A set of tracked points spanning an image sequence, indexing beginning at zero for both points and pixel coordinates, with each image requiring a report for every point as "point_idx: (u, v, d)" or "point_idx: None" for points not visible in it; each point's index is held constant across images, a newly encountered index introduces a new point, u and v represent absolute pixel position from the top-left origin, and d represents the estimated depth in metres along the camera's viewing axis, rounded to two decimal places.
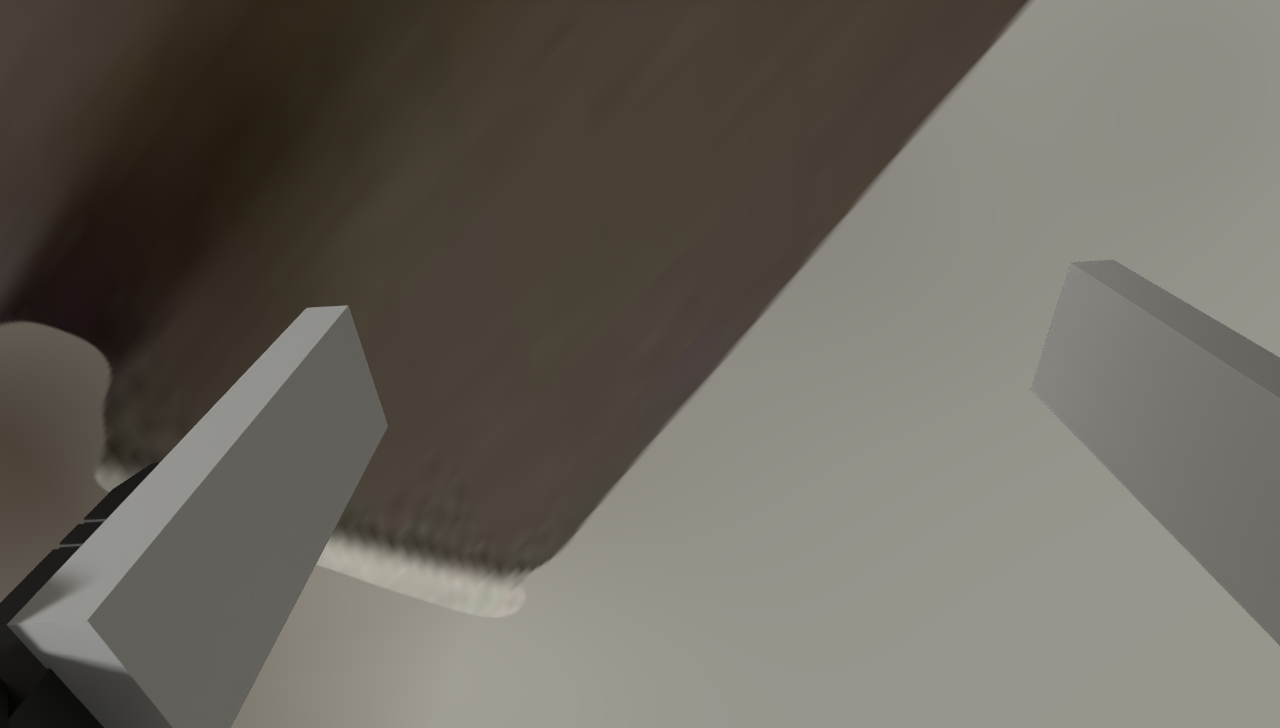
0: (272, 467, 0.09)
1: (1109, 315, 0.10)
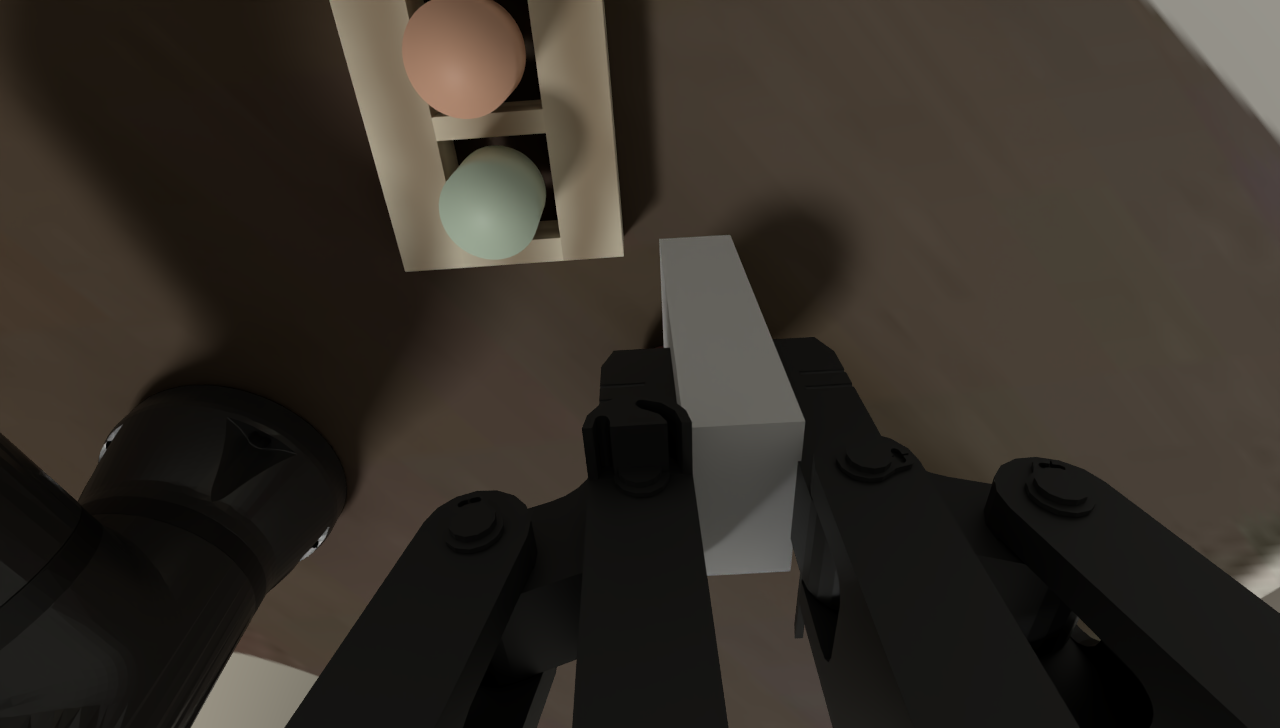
0: None
1: None
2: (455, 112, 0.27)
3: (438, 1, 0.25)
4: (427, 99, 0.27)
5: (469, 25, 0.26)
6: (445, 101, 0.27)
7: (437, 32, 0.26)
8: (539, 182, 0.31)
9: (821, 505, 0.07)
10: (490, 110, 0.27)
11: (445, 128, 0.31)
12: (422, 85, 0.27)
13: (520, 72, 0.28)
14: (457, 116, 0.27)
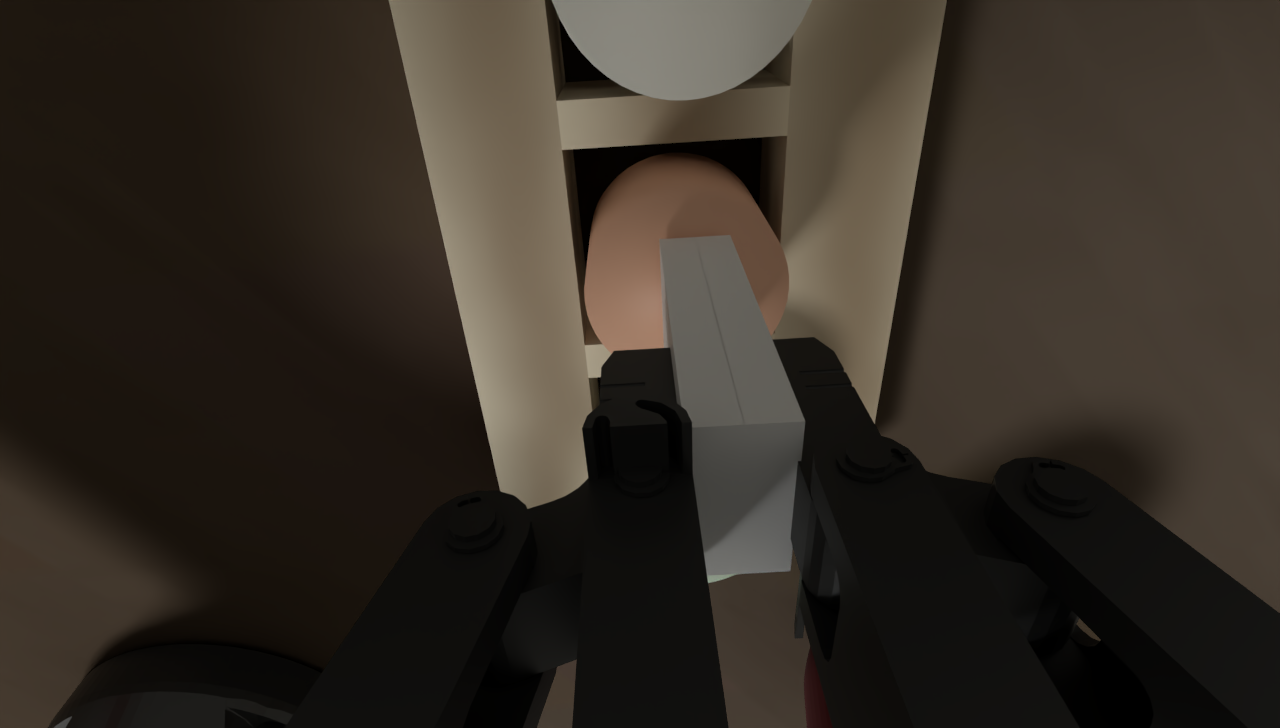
0: None
1: None
2: None
3: (667, 201, 0.13)
4: None
5: None
6: None
7: (655, 250, 0.14)
8: None
9: (821, 505, 0.07)
10: None
11: None
12: (612, 331, 0.15)
13: None
14: None
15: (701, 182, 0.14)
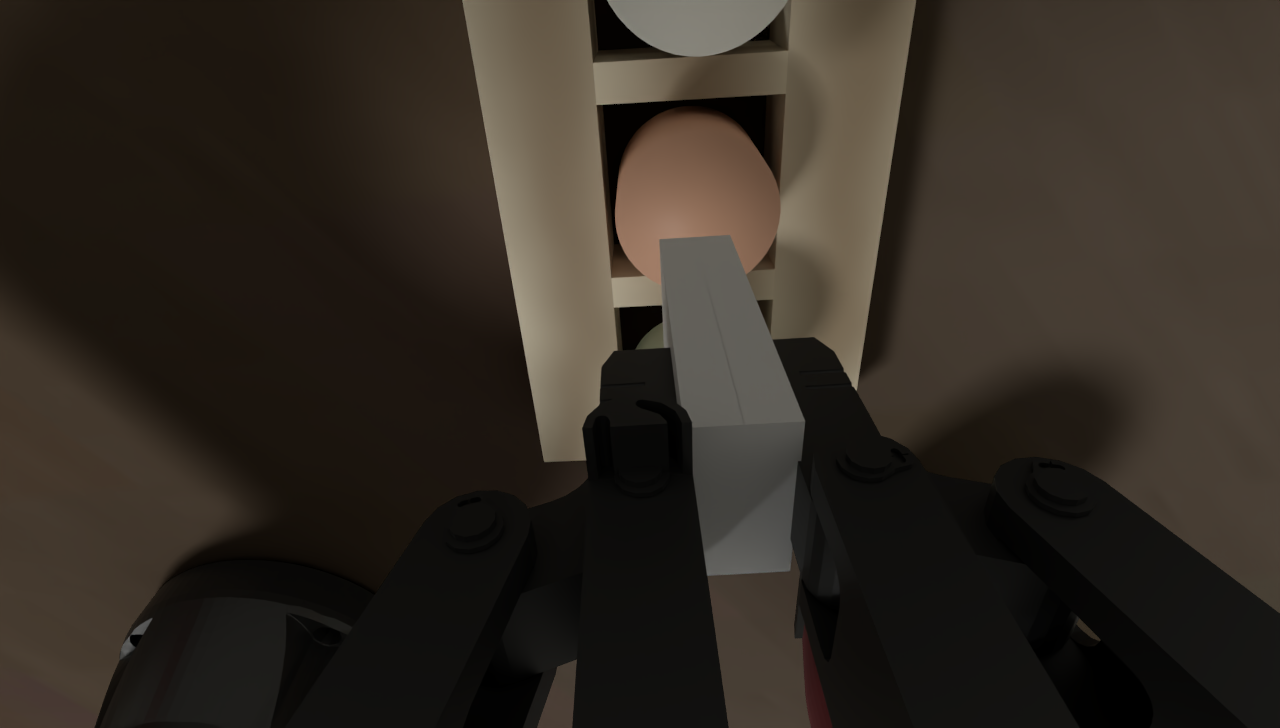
0: None
1: None
2: None
3: (683, 138, 0.17)
4: (641, 266, 0.19)
5: (723, 170, 0.17)
6: None
7: (672, 179, 0.17)
8: None
9: (821, 505, 0.07)
10: None
11: (629, 291, 0.21)
12: (637, 248, 0.18)
13: None
14: None
15: (710, 125, 0.17)
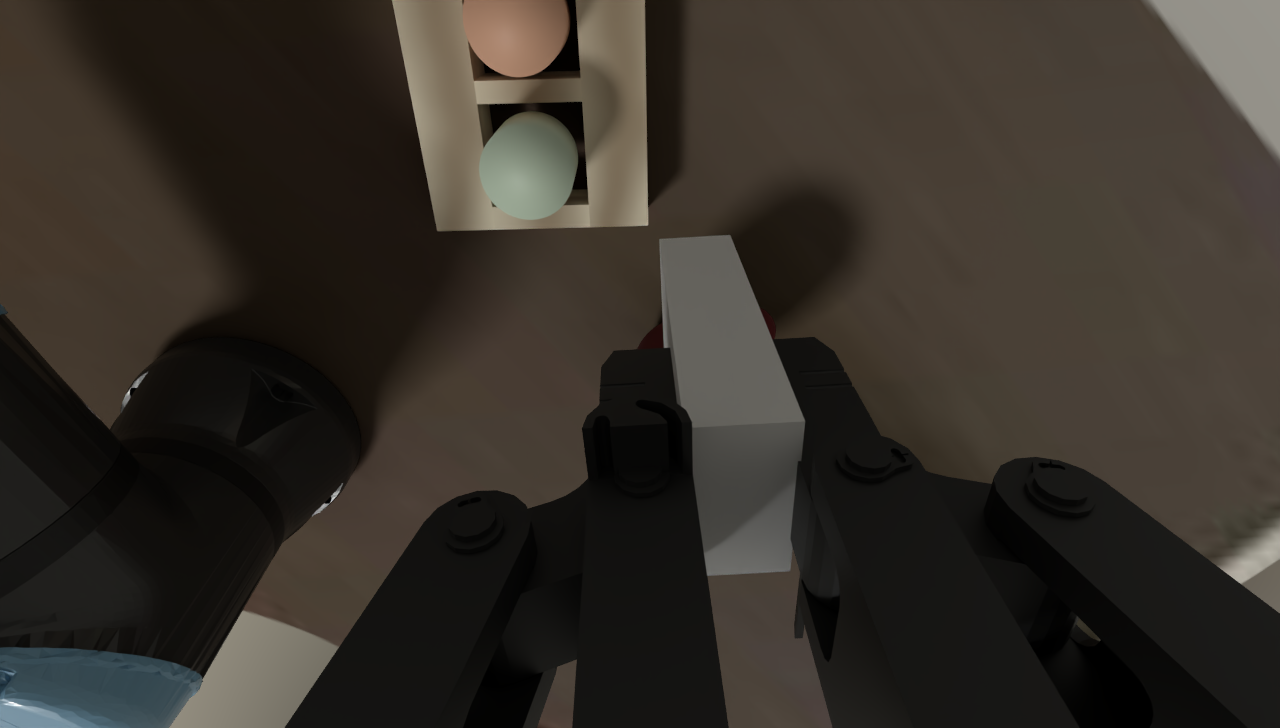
0: None
1: None
2: (506, 70, 0.30)
3: None
4: (482, 57, 0.30)
5: None
6: (498, 59, 0.30)
7: None
8: (574, 148, 0.33)
9: (821, 505, 0.07)
10: (539, 70, 0.30)
11: (486, 92, 0.32)
12: (478, 43, 0.29)
13: (566, 38, 0.31)
14: (508, 74, 0.30)
15: None
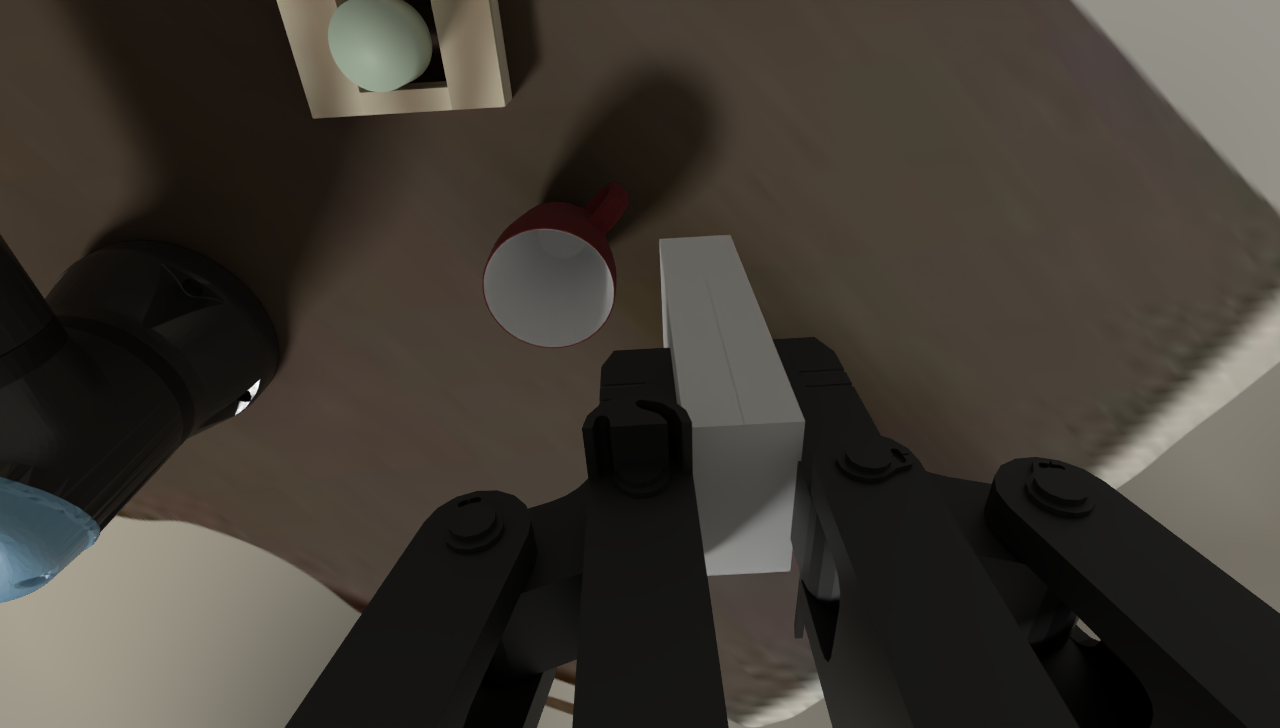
0: None
1: None
2: None
3: None
4: None
5: None
6: None
7: None
8: (421, 27, 0.36)
9: (821, 505, 0.07)
10: None
11: None
12: None
13: None
14: None
15: None
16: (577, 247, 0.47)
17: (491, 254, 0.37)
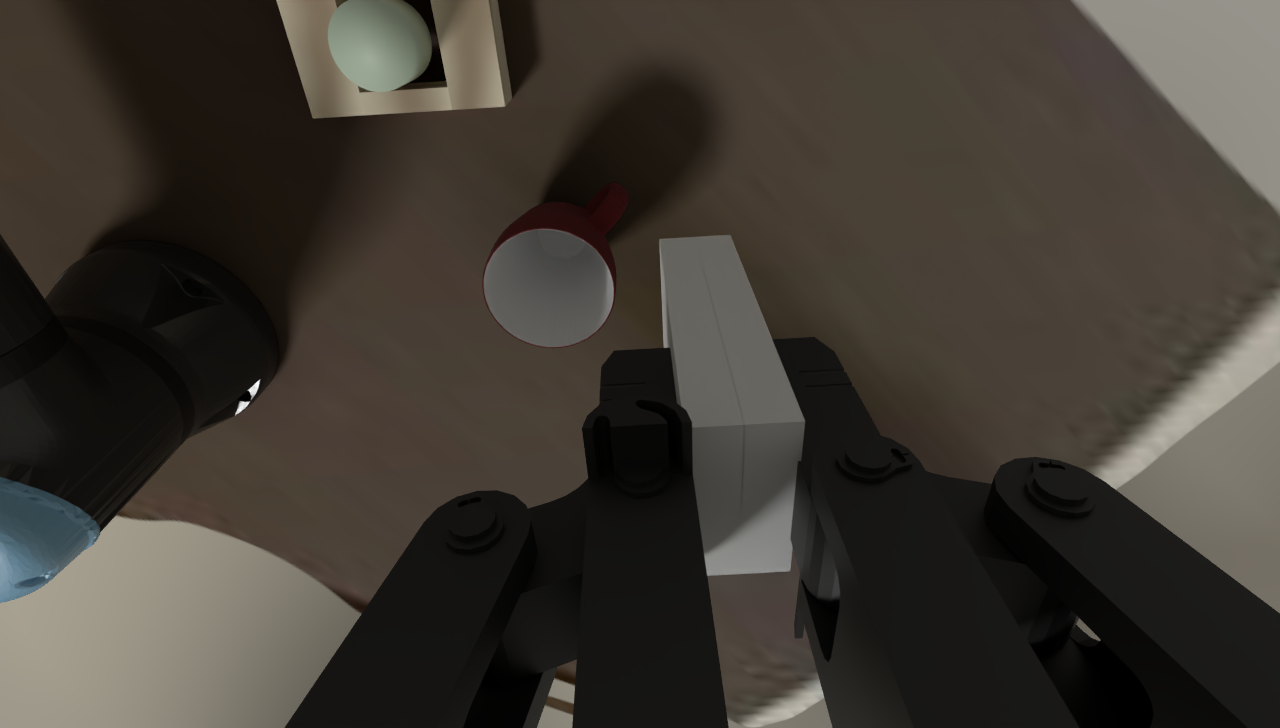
0: None
1: None
2: None
3: None
4: None
5: None
6: None
7: None
8: (421, 27, 0.36)
9: (821, 505, 0.07)
10: None
11: None
12: None
13: None
14: None
15: None
16: (577, 247, 0.47)
17: (491, 254, 0.37)
